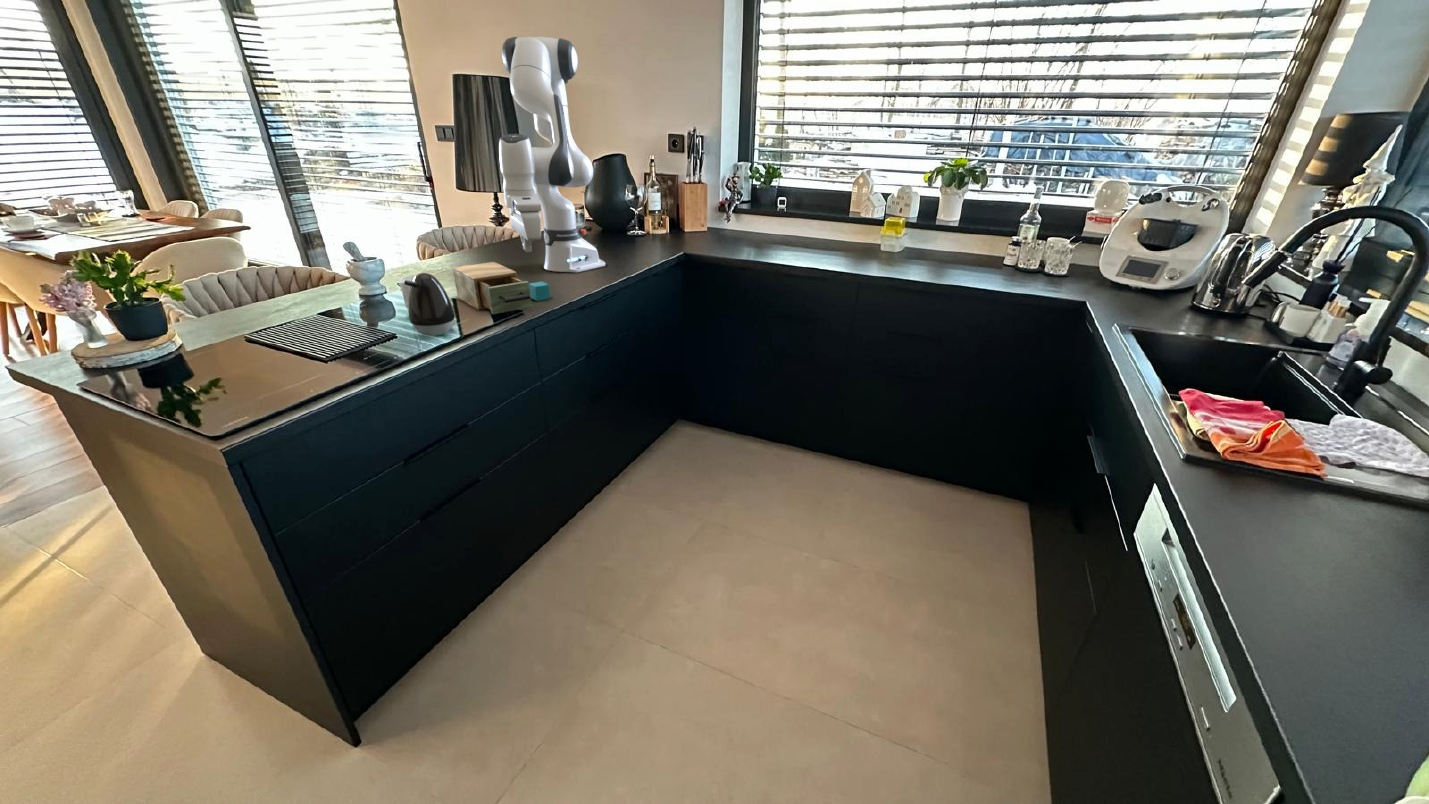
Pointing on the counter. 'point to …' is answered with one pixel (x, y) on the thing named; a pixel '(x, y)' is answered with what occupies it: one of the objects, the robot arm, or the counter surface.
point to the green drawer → (504, 294)
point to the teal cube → (539, 291)
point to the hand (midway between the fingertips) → (527, 250)
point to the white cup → (406, 290)
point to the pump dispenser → (429, 305)
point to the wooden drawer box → (473, 273)
